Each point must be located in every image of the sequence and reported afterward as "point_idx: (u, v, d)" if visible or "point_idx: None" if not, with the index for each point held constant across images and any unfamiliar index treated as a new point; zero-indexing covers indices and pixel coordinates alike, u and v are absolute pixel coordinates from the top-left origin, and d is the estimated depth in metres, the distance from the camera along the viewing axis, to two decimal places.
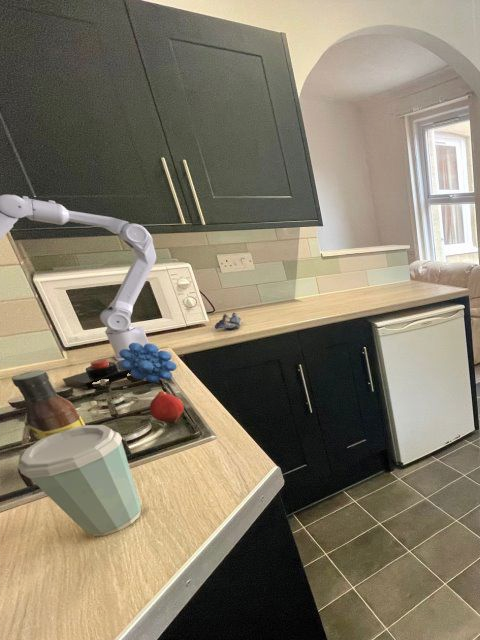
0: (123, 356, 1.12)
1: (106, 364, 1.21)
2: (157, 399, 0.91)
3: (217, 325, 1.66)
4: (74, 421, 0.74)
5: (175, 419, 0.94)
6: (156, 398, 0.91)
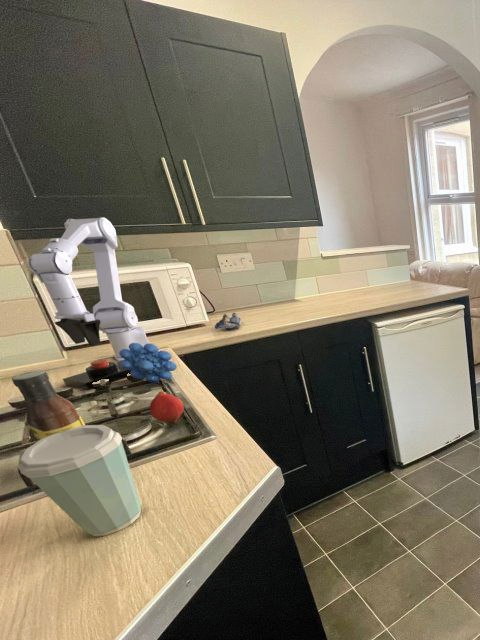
0: (123, 356, 1.12)
1: (106, 364, 1.21)
2: (157, 399, 0.91)
3: (217, 325, 1.66)
4: (74, 421, 0.74)
5: (175, 419, 0.94)
6: (156, 398, 0.91)
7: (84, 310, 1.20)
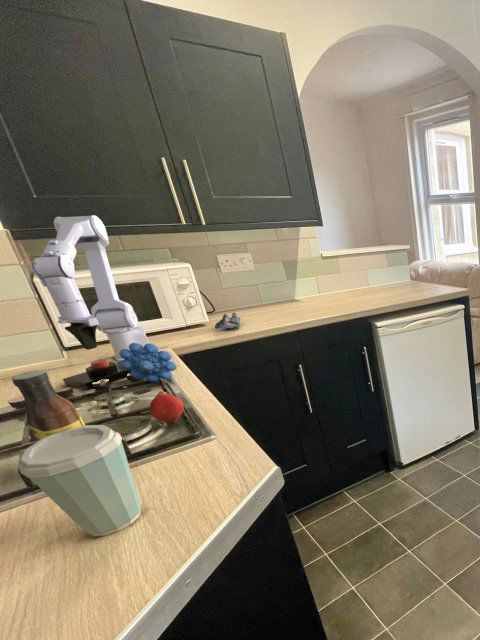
0: (123, 356, 1.12)
1: (106, 364, 1.21)
2: (157, 399, 0.91)
3: (217, 325, 1.66)
4: (74, 421, 0.74)
5: (175, 419, 0.94)
6: (156, 398, 0.91)
7: (88, 314, 1.18)
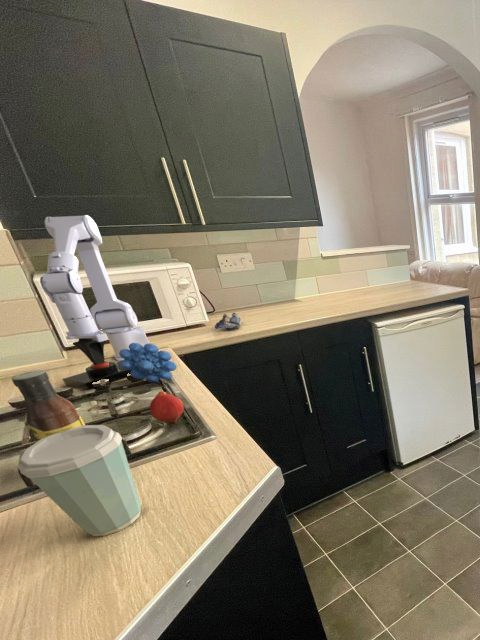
0: (123, 356, 1.12)
1: None
2: (157, 399, 0.91)
3: (217, 325, 1.66)
4: (74, 421, 0.74)
5: (175, 419, 0.94)
6: (156, 398, 0.91)
7: (96, 330, 1.17)
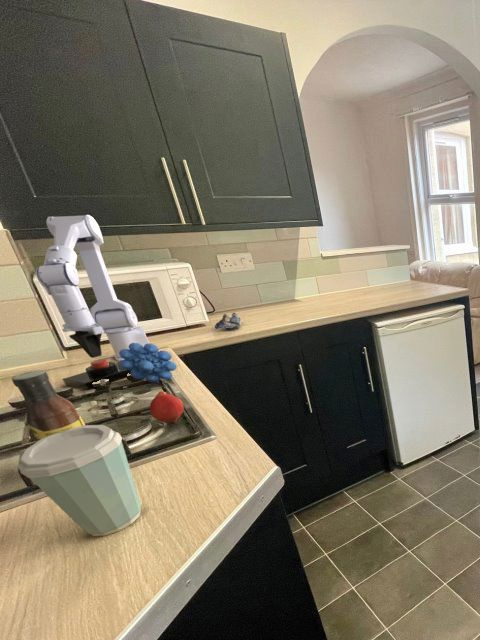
0: (123, 356, 1.12)
1: (106, 364, 1.21)
2: (157, 399, 0.91)
3: (217, 325, 1.66)
4: (74, 421, 0.74)
5: (175, 419, 0.94)
6: (156, 398, 0.91)
7: (92, 322, 1.17)
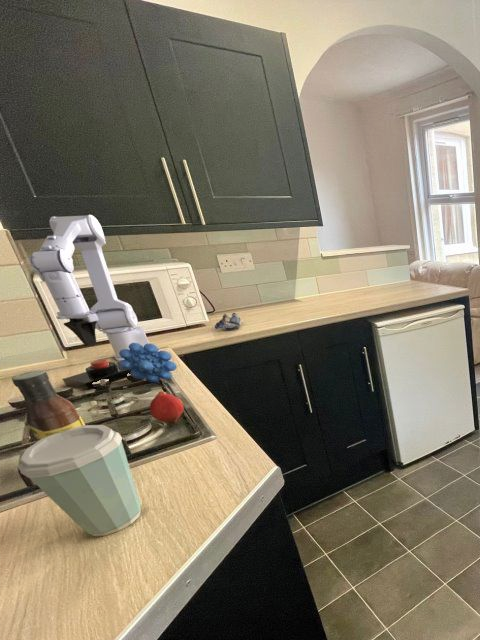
0: (123, 356, 1.12)
1: (106, 364, 1.21)
2: (157, 399, 0.91)
3: (217, 325, 1.66)
4: (74, 421, 0.74)
5: (175, 419, 0.94)
6: (156, 398, 0.91)
7: (87, 310, 1.15)
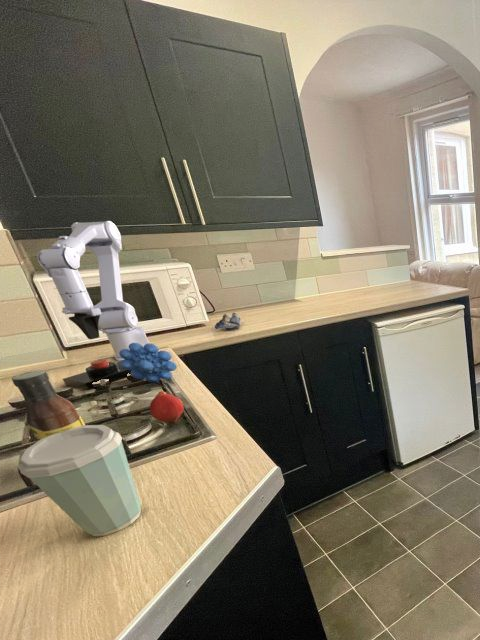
0: (123, 356, 1.12)
1: (106, 364, 1.21)
2: (157, 399, 0.91)
3: (217, 325, 1.66)
4: (74, 421, 0.74)
5: (175, 419, 0.94)
6: (156, 398, 0.91)
7: (91, 305, 1.22)
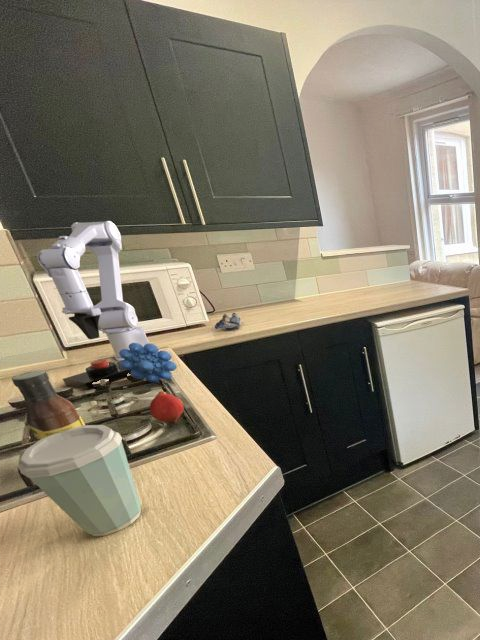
0: (123, 356, 1.12)
1: (106, 364, 1.21)
2: (157, 399, 0.91)
3: (217, 325, 1.66)
4: (74, 421, 0.74)
5: (175, 419, 0.94)
6: (156, 398, 0.91)
7: (91, 305, 1.22)
